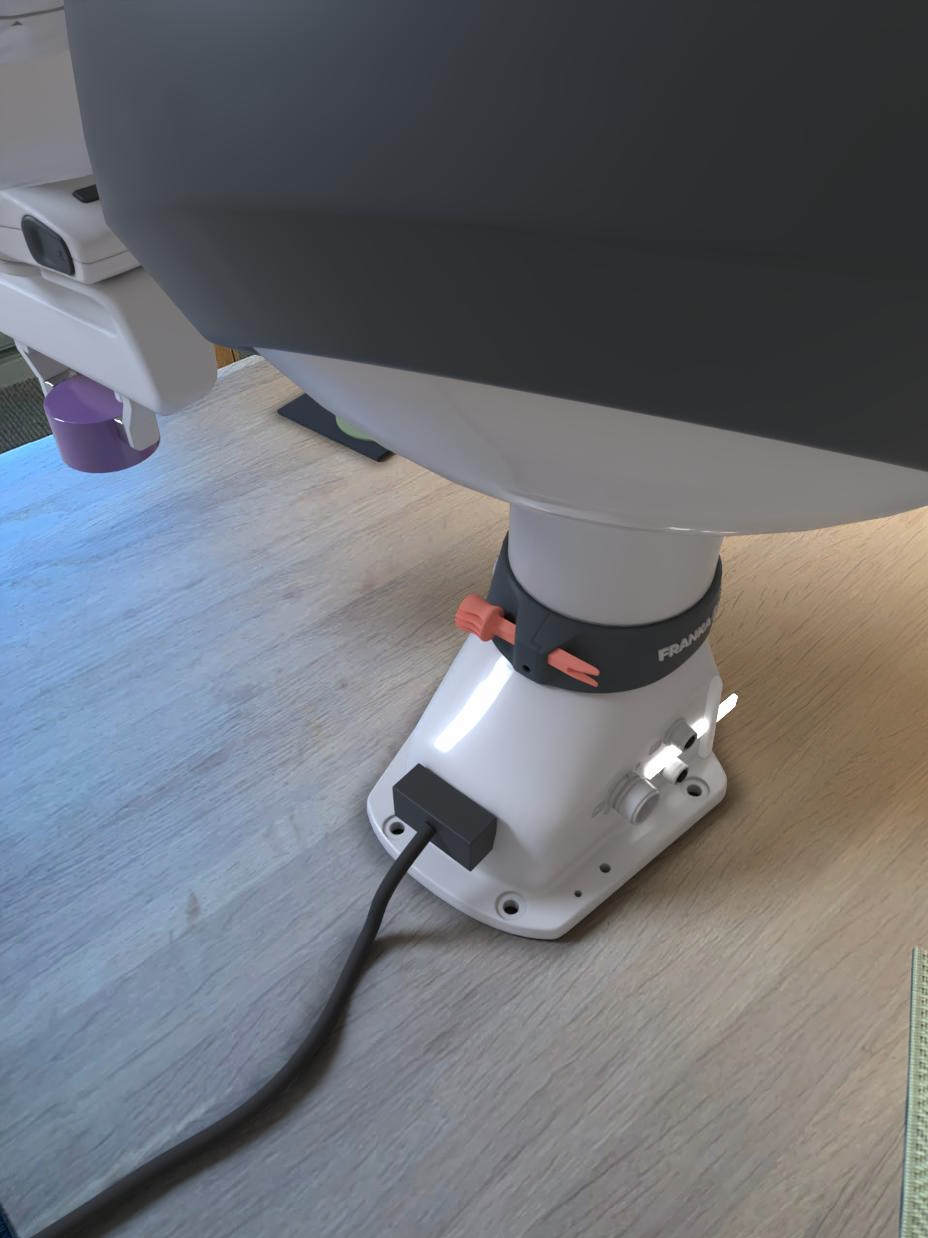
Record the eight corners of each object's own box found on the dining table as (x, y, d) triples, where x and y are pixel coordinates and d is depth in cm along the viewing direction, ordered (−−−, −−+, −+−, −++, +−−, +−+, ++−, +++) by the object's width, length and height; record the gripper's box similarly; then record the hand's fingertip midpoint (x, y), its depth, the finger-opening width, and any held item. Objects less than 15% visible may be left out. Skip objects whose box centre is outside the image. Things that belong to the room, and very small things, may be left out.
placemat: (377, 461, 83) (377, 456, 83) (272, 411, 89) (271, 405, 88) (529, 356, 96) (530, 350, 95) (429, 317, 101) (429, 312, 101)
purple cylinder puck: (100, 486, 58) (84, 435, 56) (40, 450, 61) (22, 400, 58) (181, 440, 61) (168, 390, 59) (120, 408, 64) (106, 359, 62)
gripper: (-132, 160, 53) (-40, 387, 63) (103, 261, 44) (169, 510, 53) (-27, 128, 57) (46, 348, 66) (212, 216, 47) (256, 457, 57)
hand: (103, 421), depth 60 cm, fingers closed on purple cylinder puck, 6 cm apart
